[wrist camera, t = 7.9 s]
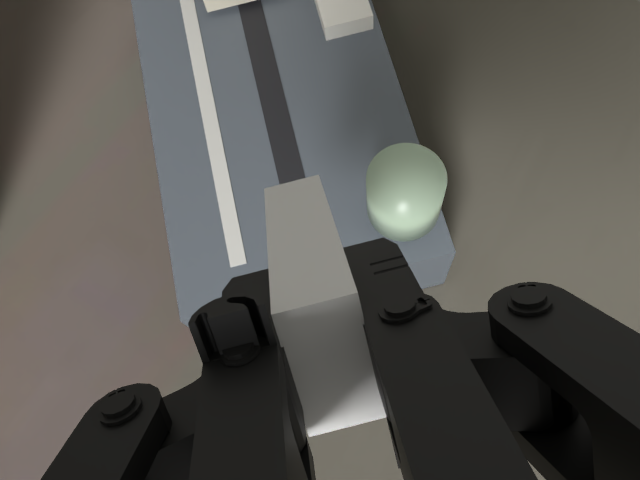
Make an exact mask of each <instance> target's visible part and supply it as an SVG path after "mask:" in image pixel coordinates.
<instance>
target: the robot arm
mask: <svg viewBox="0 0 640 480" xmlns="http://www.w3.org/2000/svg"><path fill="white" fill-rule="evenodd" d="M264 196H265V215H266V233H267V251H268V269H264V270H260V271H256V272H253V273H249V274H245V275H241V276H237V277H233V278H232V279H231V280H230V281H229V283H228V284H227V285H226V287H225V288H224V289H223V291H222V297H220V298H217V299H214V300H212V301H211V302H209V303H207V304H205V305H204V306H202V307H200V308H199V309H198V310H197V311H196V312H195V313H194V314H193V315H192V316H191V318H190V320H189V322H188V326H189V328H190V331H191V333H192V336H193V339H194V341H195V344H196V346H197V349H198V352H199V354H200V357H201V360H202V362H203V367H202V375H201V377H200V378H198V379H197V380H196V381H194V382H193V383H191V384H189V385H188V386H186V387H184V388H182V389H180V390H178V391H176V392H174V393H171V394H169V395H167V396H165V397H163V398H162V396H161V394H160V391H159V389H158V388H157V387H155V386H153V385H151V384H140V383H137V384H133V385H128V386H124V387H121V388H118V389H117V390H113V391H112V392H110V393H108V394H107V395H105V396H104V397H103V398H101V399H100V400H98V401H97V402H95V403H94V404H93V406H92V407H91V408H90V409H89V410H88V411H87V412H86V413H85V415H84V416H83V418H82V419H81V421H80V422H79V424H78V425H77V427H76V428H75V429H74V431H73V432H72V434H71V435H70V437H69V438H68V440H67V441H66V443H65V444H64V446H63V447H62V449H61V450H60V452H59V453H58V455H57V456H56V458H55V459H54V461H53V462H52V464H51V465H50V466H49V468H48V469H47V471H46V472H45V474H44V475H43V477H42V478H41V480H316V478H315V470H314V463H313V456H312V453H311V450H310V447H309V444H308V440H307V437H306V430H305V426H306V429H307V432H308V435H309V437H311V436H315V435H319V434H323V433H327V432H331V431H335V430H339V429H343V428H346V427H350V426H354V425H358V424H362V423H366V422H370V421H374V420H378V419H382V418H386V417H387V422H388V426H389V430H390V434H391V438H392V443H393V447H394V451H395V455H396V460H397V464H398V468H401V472H402V475H403V479H404V480H538V479H537V477H536V476H535V474H534V472H533V470H532V468H531V467H530V465H529V463H528V461H529V462H530V463H531V464H532V465H533V466H534V468H535V469H536V470H537V471H538V472H539V473H540V474H541V475H542V476H543V477H544V478H545V479H546V480H640V334H639V333H637V332H636V331H634V330H632V329H631V328H629V327H627V326H626V325H624V324H622V323H620V322H619V321H617V320H615V319H614V318H612V317H610V316H608V315H607V314H605V313H603V312H602V311H600V310H598V309H597V308H595V307H593V306H591V305H590V304H588V303H586V302H585V301H583V300H581V299H580V298H578V297H576V296H574V295H573V294H571V293H569V292H568V291H566V290H564V289H562V288H559V287H557V286H554V285H552V284H546V283H538V282H527V283H525V282H524V283H518V284H515V285H511V286H508V287H505V288H503V289H501V290H499V291H498V292H496V293H494V294H493V296H492V297H491V298H490V300H489V301H488V312H475V313H457V312H451V311H446V310H443V309H442V308H441V307H440V305H439V303H438V302H437V301H436V300H435V299H434V298H433V297H432V296H429V295H426V294H424V293H423V291H422V289H421V287H420V285H419V283H418V281H417V280H416V278H415V276H414V274H413V272H412V270H411V268H410V267H409V266H408V263H407V261H406V259H405V257H404V256H403V254H402V252H401V250H400V248H399V246H398V244H396V243H394V242H392V241H390V240H388V239H386V238H384V237H383V238H379V239H375V240H371V241H367V242H363V243H359V244H355V245H352V246H348V247H344V248H343V246H342V243H341V240H340V237H339V234H338V231H337V228H336V225H335V222H334V219H333V216H332V213H331V210H330V207H329V204H328V201H327V198H326V195H325V192H324V189H323V186H322V183H321V180H320V177H319V175H315V176H311V177H307V178H303V179H299V180H296V181H292V182H288V183H284V184H280V185H276V186H272V187H268V188H264ZM526 459H527V460H528V461H527V460H526Z"/></svg>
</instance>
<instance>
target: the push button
mask: <svg viewBox="0 0 640 480" xmlns="http://www.w3.org/2000/svg"><path fill="white" fill-rule="evenodd" d="M446 187H447V172H446V168H445V166H444V164H443V162H442V161H441V159H440V158H439V157H438V156H437V155H436V154H435V153H434V152H433V151H432V150H430V149H428V148H427V147H424V146H422V145H419V144H415V143H398V144H394V145H391V146H388V147H386V148H385V149H383V150H381V151H380V152H379V153H378V154H377V155H376V156H375V157H374V158H373V159H372V161H371V162H370V164H369V166H368V169H367V173H366V196H367V214H368V218H369V220H370V222H371V224H372V226H373V227H374V228H375V229H376V230H377V232H379V233H380V234H381V235H383V236H384V237H386V238H388V239H391V240H394V241H402V242H406V241H413V240H416V239H419V238H421V237H423V236H425V235H426V234H427V233H429V232H430V231H431V230H432V229H433V227H434V226H435V224H436V222H437V220H438V218H439V214H440V210H441V206H442V203H443V199H444V195H445V191H446Z"/></svg>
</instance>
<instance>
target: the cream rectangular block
mask: <svg viewBox="0 0 640 480" xmlns="http://www.w3.org/2000/svg"><path fill="white" fill-rule="evenodd" d="M251 1H255V0H203V2H204V4H205V7H206V10H207V12H211V11H215V10H219V9H223V8H227V7H231V6H235V5H239V4H243V3H247V2H251Z"/></svg>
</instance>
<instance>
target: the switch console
mask: <svg viewBox="0 0 640 480" xmlns="http://www.w3.org/2000/svg"><path fill="white" fill-rule="evenodd" d="M131 3H132V9H133V16H134V22H135V29H136V35H137V42H138V49H139V55H140V62H141V68H142V75H143V81H144V88H145V94H146V101H147V107H148V114H149V120H150V127H151V133H152V140H153V146H154V153H155V159H156V166H157V172H158V179H159V185H160V192H161V198H162V205H163V212H164V218H165V225H166V231H167V238H168V244H169V251H170V257H171V264H172V270H173V277H174V283H175V290H176V296H177V303H178V309H179V316H180V321H181V322H182V323H183V324H185V325H186V326H188V322H189V320H190V318H191V316H192V315H193V314H194V313H195V312H196V311H197V310H198V309H199V308H200V307H202V306H204V305H205V304H207V303H209V302H211V301H212V300H214V299H217V298H220V297H222V291H223V289H224V288H225V287H226V285H227V284H228V283H229V281H230V280H231V279H232V278H233V277H237V276H241V275H245V274H249V273H253V272H256V271H260V270H264V269H268V251H267V233H266V215H265V196H264V188H268V187H272V186H276V185H280V184H284V183H288V182H292V181H296V180H299V179H303V178H307V177H311V176H315V175H319V177H320V180H321V183H322V186H323V189H324V192H325V195H326V198H327V201H328V204H329V207H330V210H331V213H332V216H333V219H334V222H335V225H336V228H337V231H338V234H339V237H340V240H341V243H342V246H343V248H344V247H348V246H352V245H355V244H359V243H363V242H367V241H371V240H375V239H379V238H383V237H384V236H383V235H381V234H380V233H379V232H377V230H376V229H375V228H374V227H373V226H372V224H371V222H370V220H369V218H368V214H367V196H366V173H367V169H368V166H369V164H370V162H371V161H372V159H373V158H374V157H375V156H376V155H377V154H378V153H379V152H380V151H381V150H383V149H385V148H386V147H388V146H391V145H394V144H398V143H415V144H419V141H418V138H417V135H416V132H415V129H414V126H413V123H412V120H411V117H410V114H409V111H408V108H407V105H406V102H405V99H404V96H403V93H402V90H401V87H400V84H399V81H398V78H397V75H396V72H395V69H394V66H393V63H392V60H391V57H390V54H389V51H388V48H387V45H386V42H385V39H384V36H383V33H382V30H381V27H380V24H379V21H378V18H377V15H376V12H375V9H374V6H373V3H372V0H255V1H251V2H247V3H243V4H239V5H235V6H231V7H227V8H223V9H219V10H215V11H211V12H207V10H206V7H205V4H204V2H203V0H131ZM419 145H420V144H419ZM384 238H386V237H384ZM386 239H388V238H386ZM388 240H390V241H392V242H394V243H396V244H398V246H399V248H400V250H401V252H402V254H403V256H404V257H405V259H406V261H407V263H408V266H409V267H410V268H411V270H412V272H413V274H414V276H415V278H416V280H417V281H418V283H419V285H420V287H421V289H423V288H427V287H431V286H435V285H439V284H443V283H444V281H445V279H446V276H447V274H448V271H449V268H450V266H451V263H452V261H453V258H454V256H455V253H456V251H455V248H454V245H453V242H452V239H451V236H450V233H449V230H448V227H447V224H446V221H445V218H444V216H443V213H442V210H440V214H439V218H438V220H437V222H436V224H435V226H434V227H433V229H432V230H431V231H430V232H429V233H427V234H426V235H425V236H423V237H421V238H419V239H416V240H413V241H406V242H402V241H394V240H391V239H388ZM188 327H189V326H188Z"/></svg>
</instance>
